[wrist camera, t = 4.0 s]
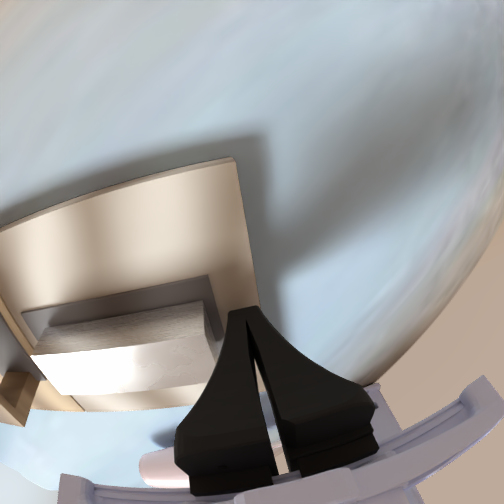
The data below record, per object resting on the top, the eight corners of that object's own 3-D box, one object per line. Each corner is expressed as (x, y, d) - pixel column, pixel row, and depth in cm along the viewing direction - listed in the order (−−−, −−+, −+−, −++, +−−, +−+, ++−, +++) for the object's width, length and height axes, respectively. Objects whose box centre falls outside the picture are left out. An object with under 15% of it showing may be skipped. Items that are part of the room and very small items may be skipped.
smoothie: (178, 471, 22) (305, 443, 21) (160, 510, 16) (310, 492, 15) (145, 429, 22) (278, 394, 21) (118, 467, 16) (277, 442, 15)
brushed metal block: (202, 300, 12) (204, 333, 10) (217, 346, 14) (221, 379, 12) (45, 327, 12) (30, 356, 10) (71, 366, 13) (62, 394, 11)
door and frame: (231, 156, 12) (255, 185, 7) (269, 372, 18) (290, 441, 13) (-63, 260, 10) (-104, 302, 5) (24, 395, 16) (8, 443, 11)
